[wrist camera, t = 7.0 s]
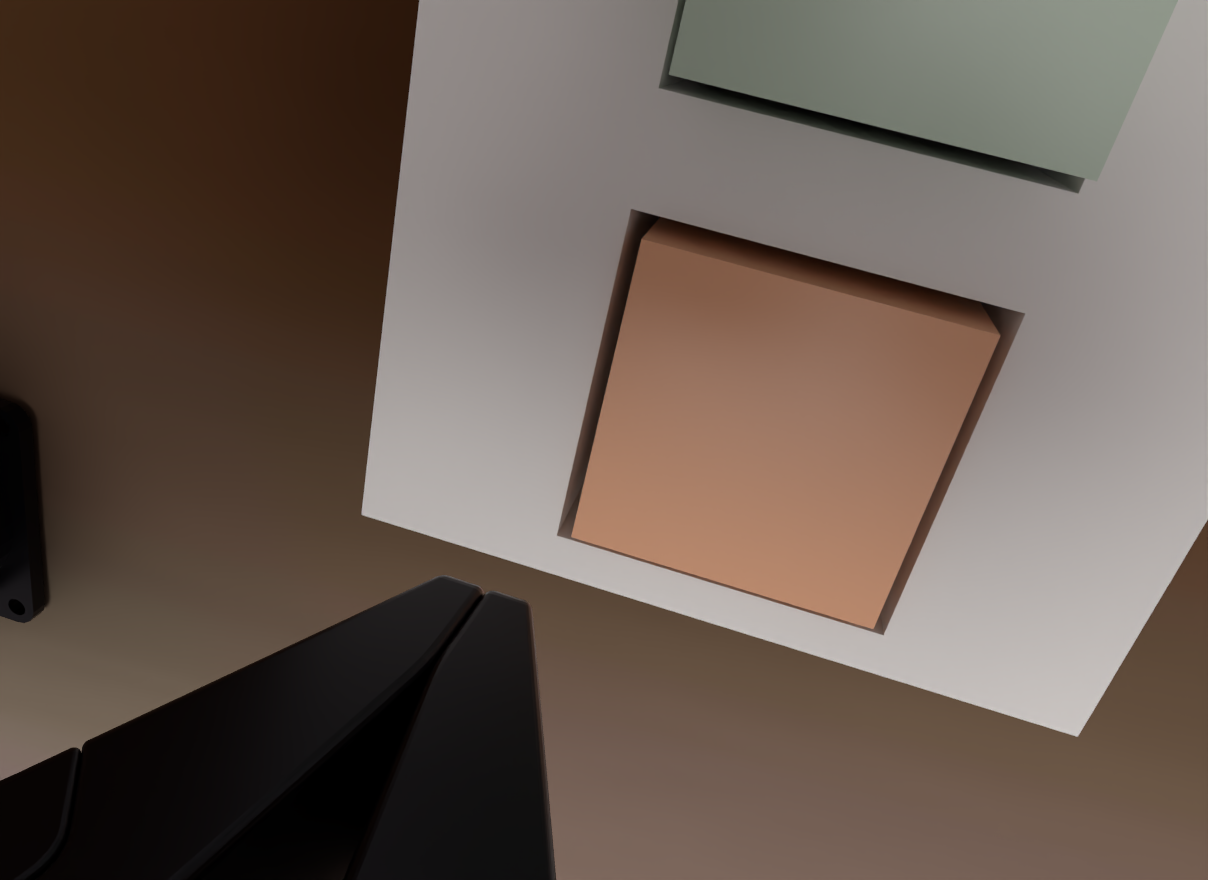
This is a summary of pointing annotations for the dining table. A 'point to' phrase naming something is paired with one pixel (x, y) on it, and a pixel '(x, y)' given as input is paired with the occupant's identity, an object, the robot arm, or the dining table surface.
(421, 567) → the dining table surface
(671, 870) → the dining table surface
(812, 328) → the terracotta button
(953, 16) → the sage button
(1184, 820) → the dining table surface
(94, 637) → the dining table surface
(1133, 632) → the button panel
